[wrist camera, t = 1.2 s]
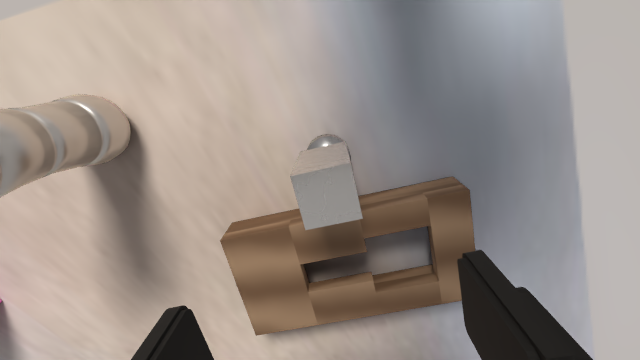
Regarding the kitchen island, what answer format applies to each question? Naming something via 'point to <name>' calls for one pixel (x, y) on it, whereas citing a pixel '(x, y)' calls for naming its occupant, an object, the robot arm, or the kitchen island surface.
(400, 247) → the kitchen island surface
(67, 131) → the plastic bottle
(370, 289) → the keyhole plate
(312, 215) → the steel peg
